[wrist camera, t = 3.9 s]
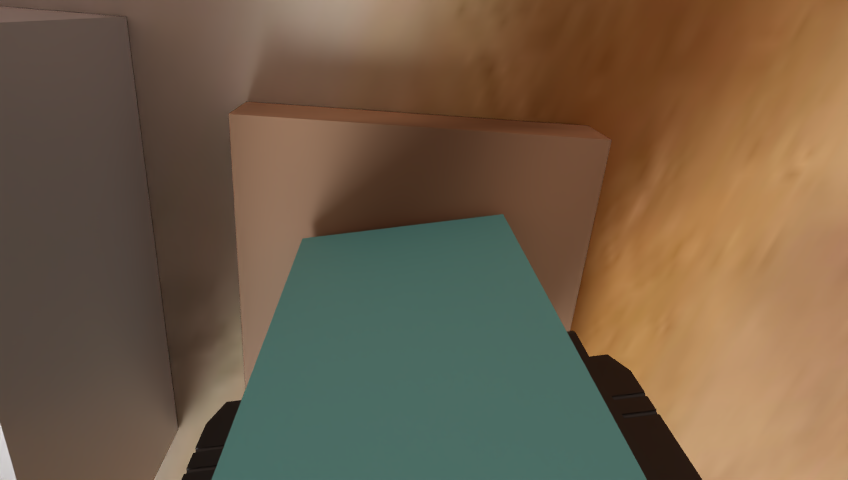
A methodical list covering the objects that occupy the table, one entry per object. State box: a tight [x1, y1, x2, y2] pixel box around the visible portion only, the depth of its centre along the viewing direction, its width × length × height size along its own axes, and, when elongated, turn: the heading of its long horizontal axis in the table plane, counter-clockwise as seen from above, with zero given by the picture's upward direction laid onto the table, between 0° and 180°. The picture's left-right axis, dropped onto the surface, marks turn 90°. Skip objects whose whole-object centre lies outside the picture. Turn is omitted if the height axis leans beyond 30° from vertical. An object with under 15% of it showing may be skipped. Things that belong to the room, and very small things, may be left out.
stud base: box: [229, 102, 612, 390], centre depth 14 cm, size 8×8×2 cm
